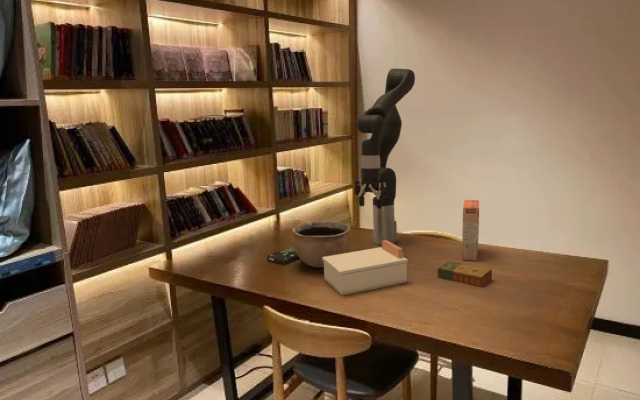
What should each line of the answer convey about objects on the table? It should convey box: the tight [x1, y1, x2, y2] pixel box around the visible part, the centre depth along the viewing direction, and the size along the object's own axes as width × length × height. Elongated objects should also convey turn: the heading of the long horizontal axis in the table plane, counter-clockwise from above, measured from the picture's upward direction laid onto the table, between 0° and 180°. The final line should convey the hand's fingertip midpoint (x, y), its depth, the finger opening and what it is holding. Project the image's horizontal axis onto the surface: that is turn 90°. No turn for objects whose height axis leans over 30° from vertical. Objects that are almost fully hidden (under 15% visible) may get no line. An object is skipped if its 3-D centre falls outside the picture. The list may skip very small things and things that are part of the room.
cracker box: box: [461, 199, 480, 262], centre depth 183 cm, size 14×6×21 cm, turn 161°
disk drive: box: [266, 246, 301, 266], centre depth 193 cm, size 10×3×15 cm
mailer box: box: [323, 262, 408, 296], centre depth 164 cm, size 24×16×7 cm, turn 110°
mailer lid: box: [322, 240, 409, 275], centre depth 163 cm, size 25×16×4 cm, turn 110°
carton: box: [437, 260, 493, 288], centre depth 162 cm, size 8×16×4 cm, turn 48°
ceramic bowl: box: [292, 220, 351, 269], centre depth 182 cm, size 22×22×15 cm
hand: (370, 207), depth 188 cm, fingers open, 8 cm apart
